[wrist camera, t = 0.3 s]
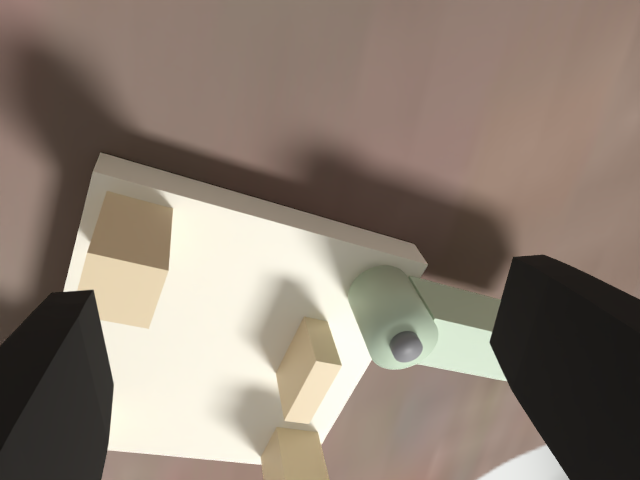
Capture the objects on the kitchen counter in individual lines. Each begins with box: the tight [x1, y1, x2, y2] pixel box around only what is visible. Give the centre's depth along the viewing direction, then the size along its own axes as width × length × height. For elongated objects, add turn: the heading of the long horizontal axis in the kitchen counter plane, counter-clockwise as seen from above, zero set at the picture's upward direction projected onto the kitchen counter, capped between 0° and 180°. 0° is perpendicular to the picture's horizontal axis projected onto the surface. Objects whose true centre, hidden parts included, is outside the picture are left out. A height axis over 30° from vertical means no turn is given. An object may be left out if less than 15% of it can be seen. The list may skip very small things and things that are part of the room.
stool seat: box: [63, 152, 428, 480], centre depth 19 cm, size 12×12×5 cm
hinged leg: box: [348, 265, 507, 381], centre depth 19 cm, size 9×2×3 cm, turn 66°
